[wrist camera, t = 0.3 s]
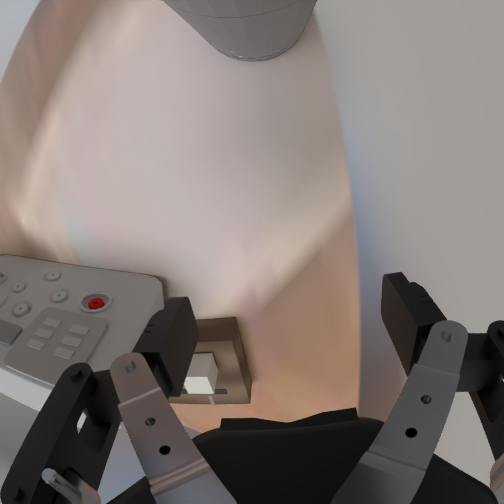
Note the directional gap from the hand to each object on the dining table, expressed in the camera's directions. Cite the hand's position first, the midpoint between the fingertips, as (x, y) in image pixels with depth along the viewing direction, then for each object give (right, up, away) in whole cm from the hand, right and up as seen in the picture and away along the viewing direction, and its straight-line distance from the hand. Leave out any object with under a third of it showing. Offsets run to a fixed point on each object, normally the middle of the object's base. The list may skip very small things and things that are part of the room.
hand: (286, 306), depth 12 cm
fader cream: (-7, -11, +21) cm, 25 cm away
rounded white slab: (-25, -2, +23) cm, 34 cm away
